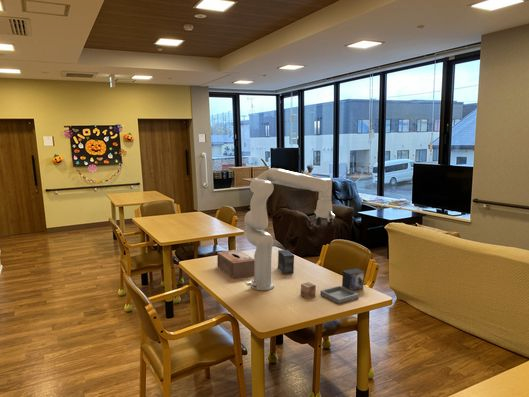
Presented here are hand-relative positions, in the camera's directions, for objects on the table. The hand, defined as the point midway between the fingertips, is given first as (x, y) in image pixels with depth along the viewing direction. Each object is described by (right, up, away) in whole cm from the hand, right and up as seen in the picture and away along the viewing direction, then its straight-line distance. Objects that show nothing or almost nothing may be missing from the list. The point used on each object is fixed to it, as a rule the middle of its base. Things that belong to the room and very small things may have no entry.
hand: (323, 226), depth 233 cm
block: (-13, -35, -29) cm, 47 cm away
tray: (+3, -35, -30) cm, 46 cm away
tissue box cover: (-54, -29, +8) cm, 62 cm away
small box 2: (+13, -34, -19) cm, 41 cm away
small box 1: (-23, -29, +9) cm, 38 cm away
